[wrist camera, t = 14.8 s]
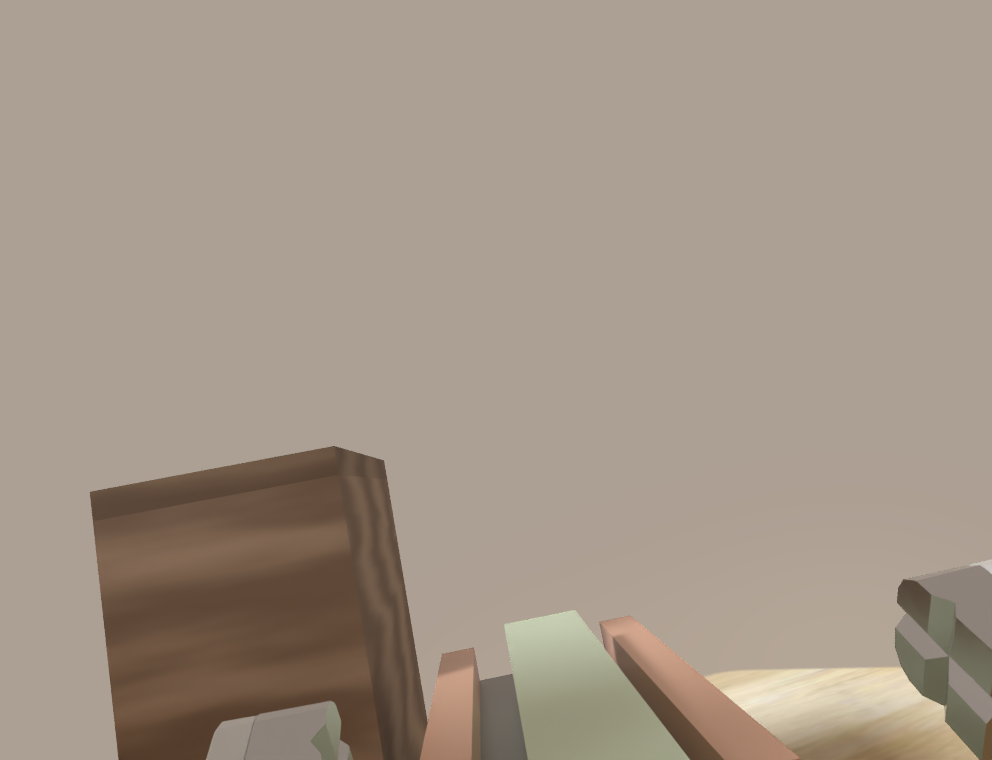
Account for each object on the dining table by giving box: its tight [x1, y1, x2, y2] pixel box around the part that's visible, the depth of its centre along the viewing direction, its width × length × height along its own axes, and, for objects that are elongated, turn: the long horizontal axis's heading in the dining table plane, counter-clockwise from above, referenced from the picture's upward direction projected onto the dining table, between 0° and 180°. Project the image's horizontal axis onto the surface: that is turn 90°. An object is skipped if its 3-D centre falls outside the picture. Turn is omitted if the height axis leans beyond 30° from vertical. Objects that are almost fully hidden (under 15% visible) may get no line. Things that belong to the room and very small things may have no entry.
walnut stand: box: [90, 446, 428, 760], centre depth 35 cm, size 16×10×26 cm, turn 3°
